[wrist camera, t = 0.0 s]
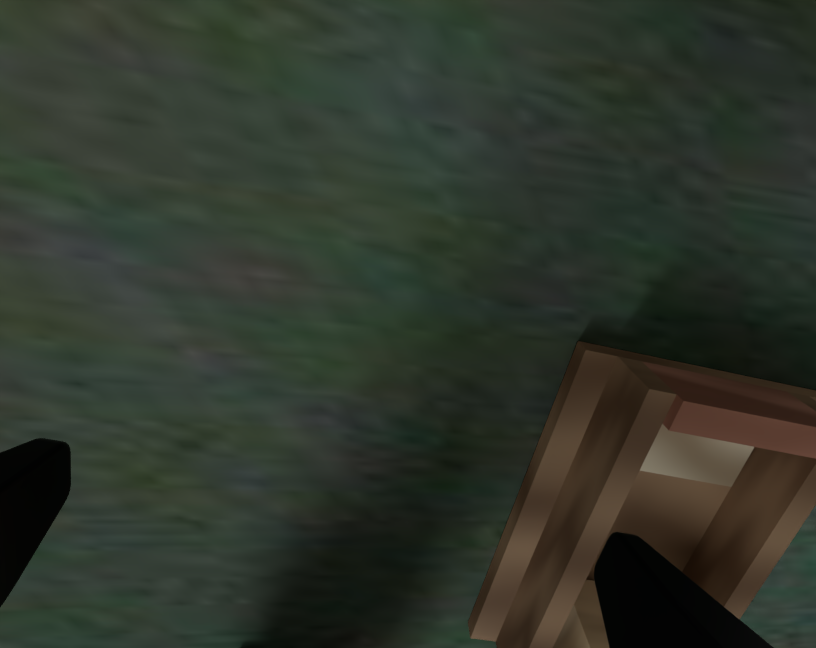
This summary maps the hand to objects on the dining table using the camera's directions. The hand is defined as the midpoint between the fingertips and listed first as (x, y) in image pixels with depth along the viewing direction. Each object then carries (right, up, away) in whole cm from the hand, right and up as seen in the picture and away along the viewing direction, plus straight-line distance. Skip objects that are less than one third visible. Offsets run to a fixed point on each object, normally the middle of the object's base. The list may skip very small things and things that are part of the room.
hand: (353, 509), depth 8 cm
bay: (+13, -8, +19) cm, 25 cm away
